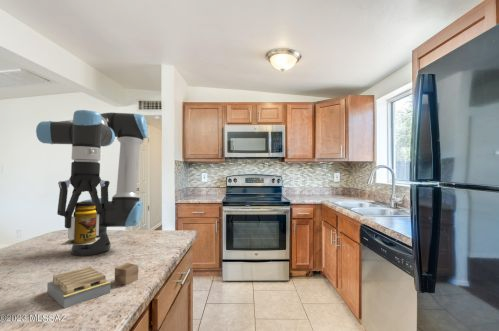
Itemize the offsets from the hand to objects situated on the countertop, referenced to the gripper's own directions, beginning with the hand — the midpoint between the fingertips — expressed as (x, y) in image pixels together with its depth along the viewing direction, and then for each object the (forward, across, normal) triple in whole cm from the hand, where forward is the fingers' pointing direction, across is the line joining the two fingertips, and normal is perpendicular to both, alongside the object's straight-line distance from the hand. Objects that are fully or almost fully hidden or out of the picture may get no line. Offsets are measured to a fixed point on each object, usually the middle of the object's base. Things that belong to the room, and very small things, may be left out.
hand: (83, 236), depth 81 cm
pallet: (+13, -1, 0) cm, 13 cm away
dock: (+16, -1, 0) cm, 16 cm away
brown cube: (+16, +12, -4) cm, 21 cm away
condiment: (+2, -1, 0) cm, 2 cm away
